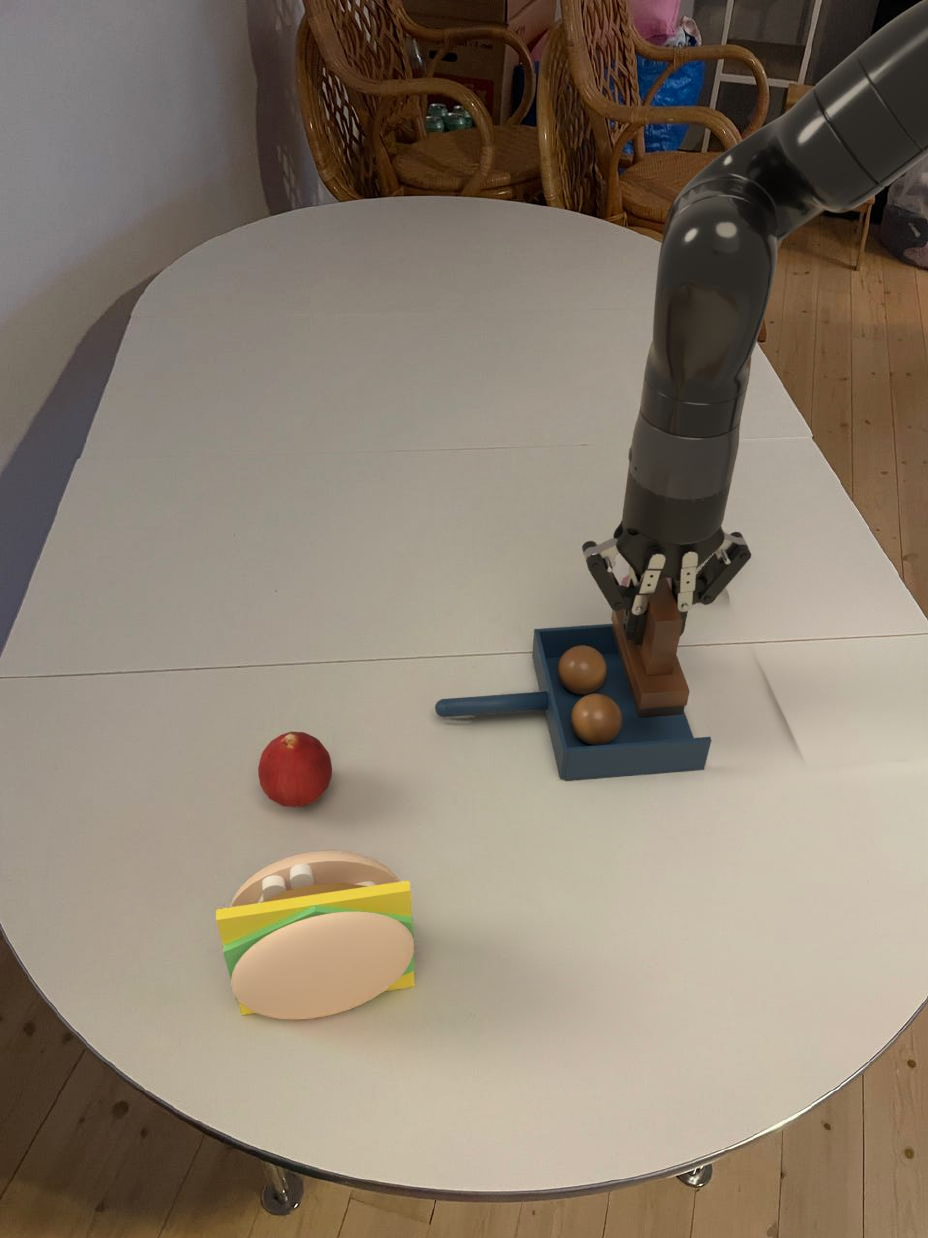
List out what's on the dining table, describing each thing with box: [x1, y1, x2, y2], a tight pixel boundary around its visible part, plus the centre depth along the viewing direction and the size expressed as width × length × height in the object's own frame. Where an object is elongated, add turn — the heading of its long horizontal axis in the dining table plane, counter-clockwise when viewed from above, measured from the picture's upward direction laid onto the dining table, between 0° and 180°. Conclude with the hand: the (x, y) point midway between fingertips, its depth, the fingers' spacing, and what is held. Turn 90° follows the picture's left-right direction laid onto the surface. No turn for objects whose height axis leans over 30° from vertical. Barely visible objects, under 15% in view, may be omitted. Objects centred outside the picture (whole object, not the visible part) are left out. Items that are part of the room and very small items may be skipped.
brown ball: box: [558, 645, 607, 694], centre depth 93 cm, size 4×4×4 cm
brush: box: [610, 578, 690, 718], centre depth 88 cm, size 4×11×9 cm, turn 6°
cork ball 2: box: [571, 694, 622, 745], centre depth 89 cm, size 4×4×4 cm
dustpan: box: [434, 623, 712, 782], centre depth 91 cm, size 22×15×4 cm
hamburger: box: [215, 850, 416, 1021], centre depth 70 cm, size 12×8×12 cm
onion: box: [257, 731, 333, 808], centre depth 83 cm, size 6×6×8 cm
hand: (651, 636), depth 88 cm, fingers closed on brush, 2 cm apart
